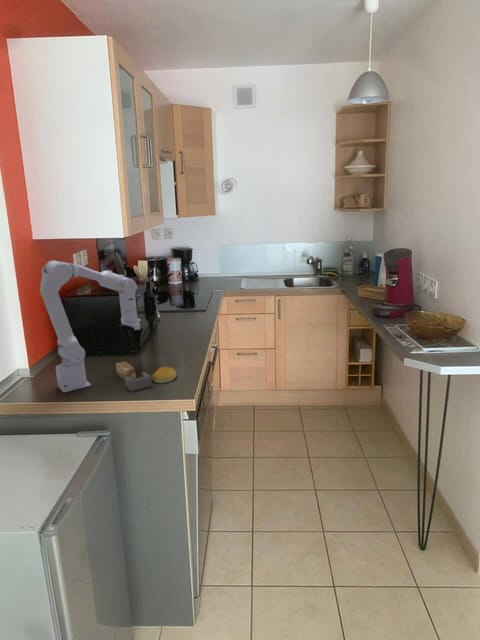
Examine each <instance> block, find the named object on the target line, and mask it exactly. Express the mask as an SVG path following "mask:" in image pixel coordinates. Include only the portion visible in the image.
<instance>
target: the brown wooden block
mask: <svg viewBox="0 0 480 640" xmlns="http://www.w3.org/2000/svg"><path fill="white" fill-rule="evenodd" d="M115 366H116V367H115V368H116V375H117V376H118V377H120V378H121V379H122V380H123V381H125V377H129V378H131V379H132V380H135V379H137V376H136V368H135V367H133V366H132V365H131V364H129V363H128V362H127V361H125V360H124V361H121V362H117V363H115Z"/></svg>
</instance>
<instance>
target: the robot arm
mask: <svg viewBox="0 0 480 640" xmlns="http://www.w3.org/2000/svg"><path fill="white" fill-rule="evenodd" d="M41 274H42V275H41V281H40V287H39V292H40V295H41V298H42V301H43V302H44V306H45V309H46V311H47V313H48V315H49V319H50V321H51V324H52V326H53V329H54V332H55V334H56V337H57V340H56V343H57V347H58V348H57V353H58V355H59V357H60V358H62V359H61V363H60V364H58V365H55V374H56V381H57V387H58V388H59V389H60V391H61V392H63V393H64V394H65V393H68V392H71V391H75V390H80V389H83V388H88V387H91V383H90V382H89V381H88V380H87V374H86V367H85V366H86V365H85V360H84V359H85V357H86V350H85V349H84V347H82V346H81V345H80V343H79V341H78V339H77V338H76V336H75V335H74V332H73V330H72V327H71V325H70V321H69V318H68V316H67V313H66V310H65V308H64V305H63V303H62V300H61V297H60V294H59V291H60V289H61V288H62V286H63V285H65V284H66V283H67V282H68V281H70V279H71V278H73V279H74V278H77V277H83V278H87V279H89V280H94V281H96V282H98V284H99V286H100V287H102V288H103V287H104V288H105V289H110V290H113V291H117V293H118V295H119V296H118V297H119V305H120V313H121V314H120V315H121V317H120V322H121V324H118V329H120V331H121V333H122V335H123V338H124V340H125V342H126V344H128V343H132V346H133V348H139V347H140V344H141V337H142V335H143V334H142V333H143V331H144V328H143V327H141V324H140V322H141V321H142V320H141V319H140V318H138V310H137V309H138V308H137V301H136V291H137V289H138V284H136V283H137V282H136V281H135V280H134V279H133V278H130V277H125V275H124V274H117V273H114V272H113V271H112V270H110V269H108V270H103V271H101V272H100V271H98V270H97V271H96V270H93V269H92V268H88V267H86V266H83V265H80V264H78V263H77V264H76V263H71V262H70V263H69V262H65V261H58V260H55V259H54V260H50V261H48V262H46V264H45V265H44V267H43V268H42V269H41Z"/></svg>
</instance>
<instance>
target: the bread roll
mask: <svg viewBox="0 0 480 640" xmlns="http://www.w3.org/2000/svg"><path fill="white" fill-rule="evenodd" d="M177 375H178V374H177V372H176V370H175V369H174V368H172V367H170V366H163V367H160V368H158V369H157V370H156V371H155V372H154V373H153V374H152V375H151V380H152V382H154V383H157V384H166V383H169V382H170V383H171V382H172V381H174V380H175V379H176V378H177Z"/></svg>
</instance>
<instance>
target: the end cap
mask: <svg viewBox="0 0 480 640" xmlns="http://www.w3.org/2000/svg"><path fill="white" fill-rule="evenodd" d="M140 375H141V377H138V378H136V379H135V380H132V379H131V378H129V377H125V380H124V382H125V383H124V384H125V388H127V389H128V390H129V391H130V392H135V391H138V390H143V389H146V388H151V387H153V383H152V382H153V381H152V375H150V374H148V373H146V371H142V372H141V374H140Z"/></svg>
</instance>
